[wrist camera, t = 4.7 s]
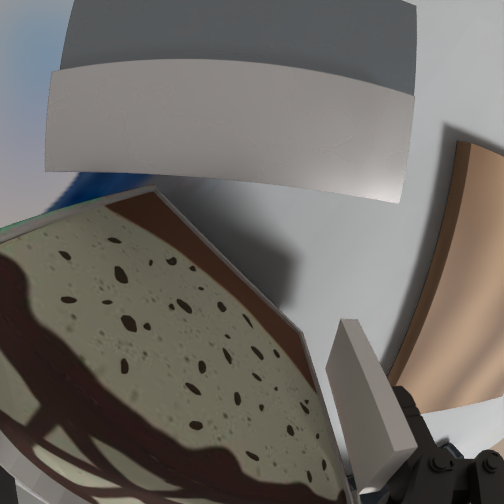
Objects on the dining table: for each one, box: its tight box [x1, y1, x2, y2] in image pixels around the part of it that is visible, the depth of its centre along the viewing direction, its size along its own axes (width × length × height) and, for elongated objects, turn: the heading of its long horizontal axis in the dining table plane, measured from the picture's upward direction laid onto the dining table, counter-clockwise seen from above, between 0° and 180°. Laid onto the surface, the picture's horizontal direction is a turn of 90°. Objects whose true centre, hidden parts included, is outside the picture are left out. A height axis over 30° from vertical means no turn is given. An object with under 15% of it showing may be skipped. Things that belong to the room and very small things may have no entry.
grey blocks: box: [45, 0, 417, 204], centre depth 12 cm, size 9×28×7 cm, turn 174°
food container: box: [0, 184, 361, 504], centre depth 9 cm, size 12×6×10 cm, turn 42°
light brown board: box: [387, 141, 504, 414], centre depth 15 cm, size 13×17×1 cm
